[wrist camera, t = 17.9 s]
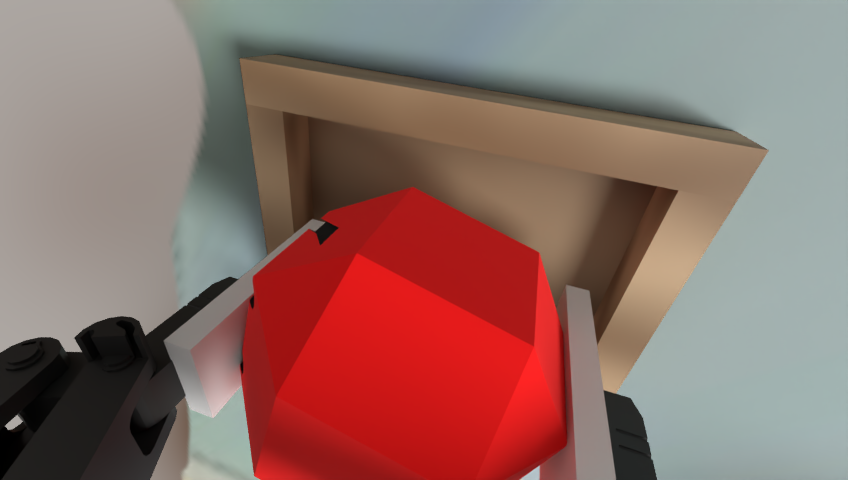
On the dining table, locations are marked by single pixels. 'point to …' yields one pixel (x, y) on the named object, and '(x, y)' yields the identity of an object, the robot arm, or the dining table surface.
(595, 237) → the wooden box
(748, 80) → the dining table surface
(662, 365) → the dining table surface
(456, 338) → the ball
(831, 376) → the dining table surface
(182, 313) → the robot arm
